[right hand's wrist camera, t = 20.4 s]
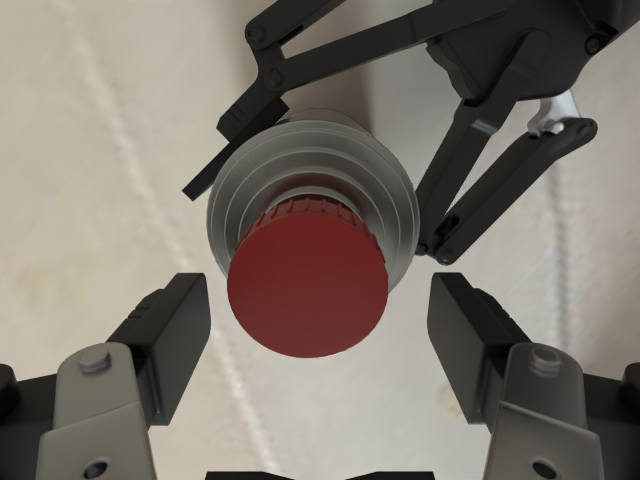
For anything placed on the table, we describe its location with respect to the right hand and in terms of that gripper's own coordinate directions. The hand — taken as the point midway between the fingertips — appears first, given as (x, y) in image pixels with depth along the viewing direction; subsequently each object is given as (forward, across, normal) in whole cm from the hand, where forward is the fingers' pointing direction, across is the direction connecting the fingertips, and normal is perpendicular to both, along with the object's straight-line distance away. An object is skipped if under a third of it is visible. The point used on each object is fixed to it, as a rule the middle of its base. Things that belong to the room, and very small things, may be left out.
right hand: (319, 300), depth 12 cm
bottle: (+16, 0, +1) cm, 16 cm away
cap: (-1, 0, +1) cm, 2 cm away
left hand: (+10, -4, -2) cm, 11 cm away
